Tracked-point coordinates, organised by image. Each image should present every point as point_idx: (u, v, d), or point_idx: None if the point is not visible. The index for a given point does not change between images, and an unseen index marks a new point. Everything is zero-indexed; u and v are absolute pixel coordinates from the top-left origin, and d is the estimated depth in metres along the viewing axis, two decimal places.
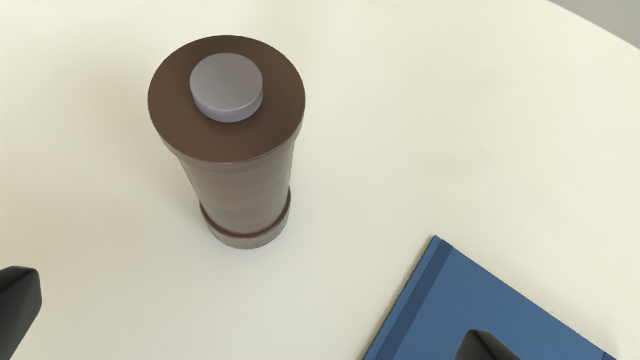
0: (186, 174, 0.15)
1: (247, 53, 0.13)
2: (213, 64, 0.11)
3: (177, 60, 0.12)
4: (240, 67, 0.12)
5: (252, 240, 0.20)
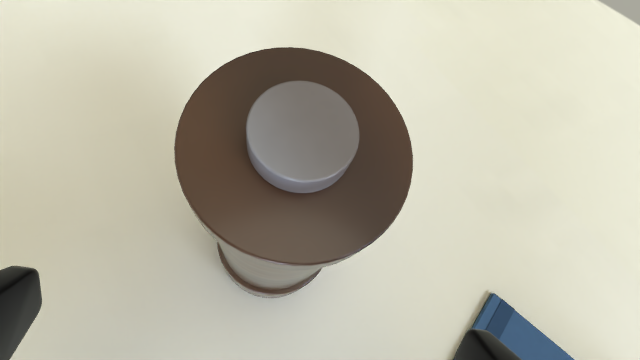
0: None
1: (327, 79, 0.08)
2: (284, 99, 0.07)
3: (223, 83, 0.08)
4: (325, 107, 0.07)
5: (280, 294, 0.16)
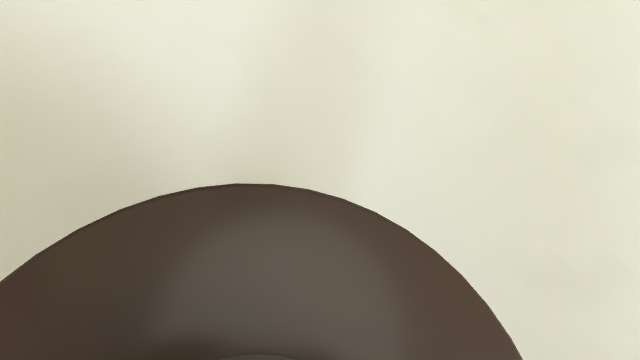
0: None
1: (330, 274, 0.03)
2: None
3: (17, 327, 0.03)
4: None
5: None
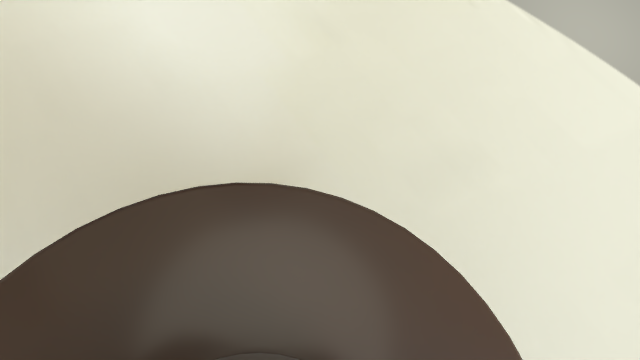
0: None
1: (329, 273, 0.03)
2: None
3: (16, 326, 0.03)
4: None
5: None
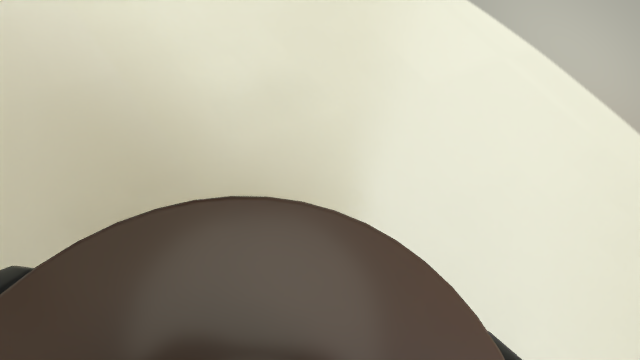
0: None
1: (322, 285, 0.03)
2: None
3: (17, 338, 0.03)
4: None
5: None
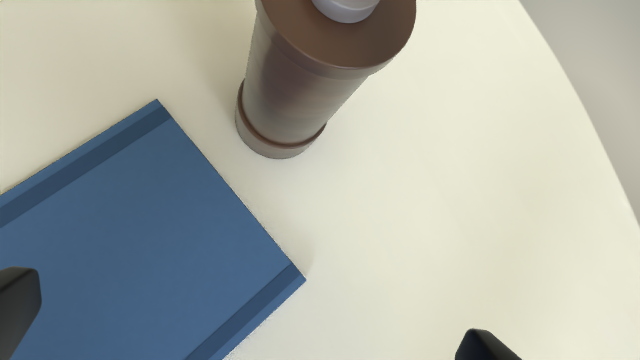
0: (253, 64, 0.14)
1: None
2: None
3: None
4: None
5: (280, 150, 0.20)
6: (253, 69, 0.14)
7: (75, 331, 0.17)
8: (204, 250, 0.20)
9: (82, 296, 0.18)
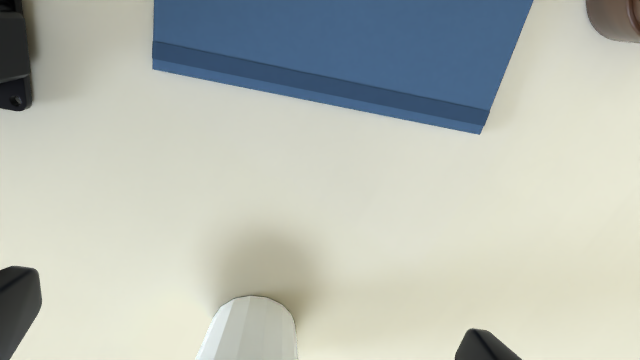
0: None
1: None
2: None
3: None
4: None
5: (619, 18, 0.16)
6: None
7: None
8: (457, 24, 0.17)
9: None
